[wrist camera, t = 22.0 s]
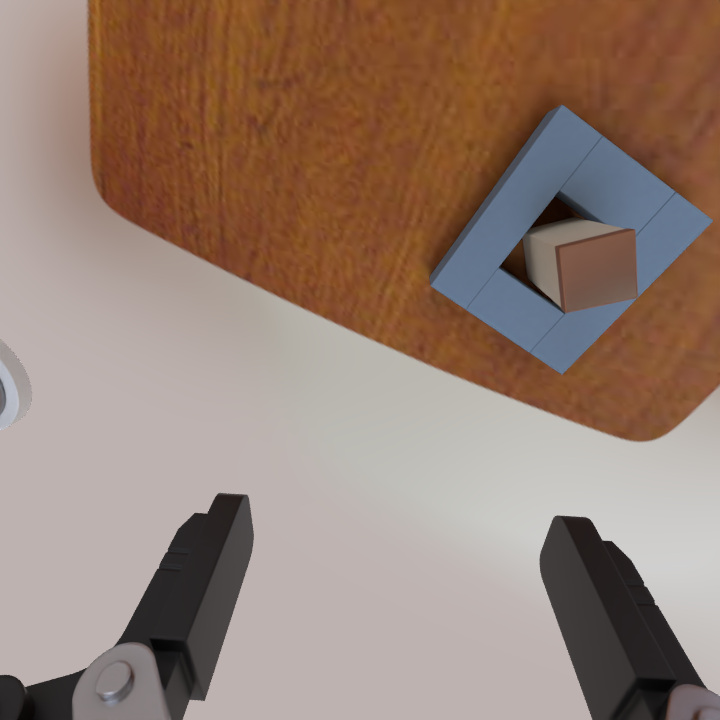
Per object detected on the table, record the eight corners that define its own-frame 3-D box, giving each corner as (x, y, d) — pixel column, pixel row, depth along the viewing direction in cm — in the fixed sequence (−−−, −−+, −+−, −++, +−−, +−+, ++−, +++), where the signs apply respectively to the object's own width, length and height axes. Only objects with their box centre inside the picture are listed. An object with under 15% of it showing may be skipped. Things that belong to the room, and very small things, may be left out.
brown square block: (526, 279, 31) (565, 313, 23) (520, 230, 30) (558, 248, 22) (579, 267, 30) (638, 298, 22) (574, 215, 29) (636, 229, 21)
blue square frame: (550, 359, 33) (562, 375, 31) (429, 277, 32) (430, 285, 29) (685, 216, 28) (714, 220, 26) (547, 111, 27) (562, 103, 24)
